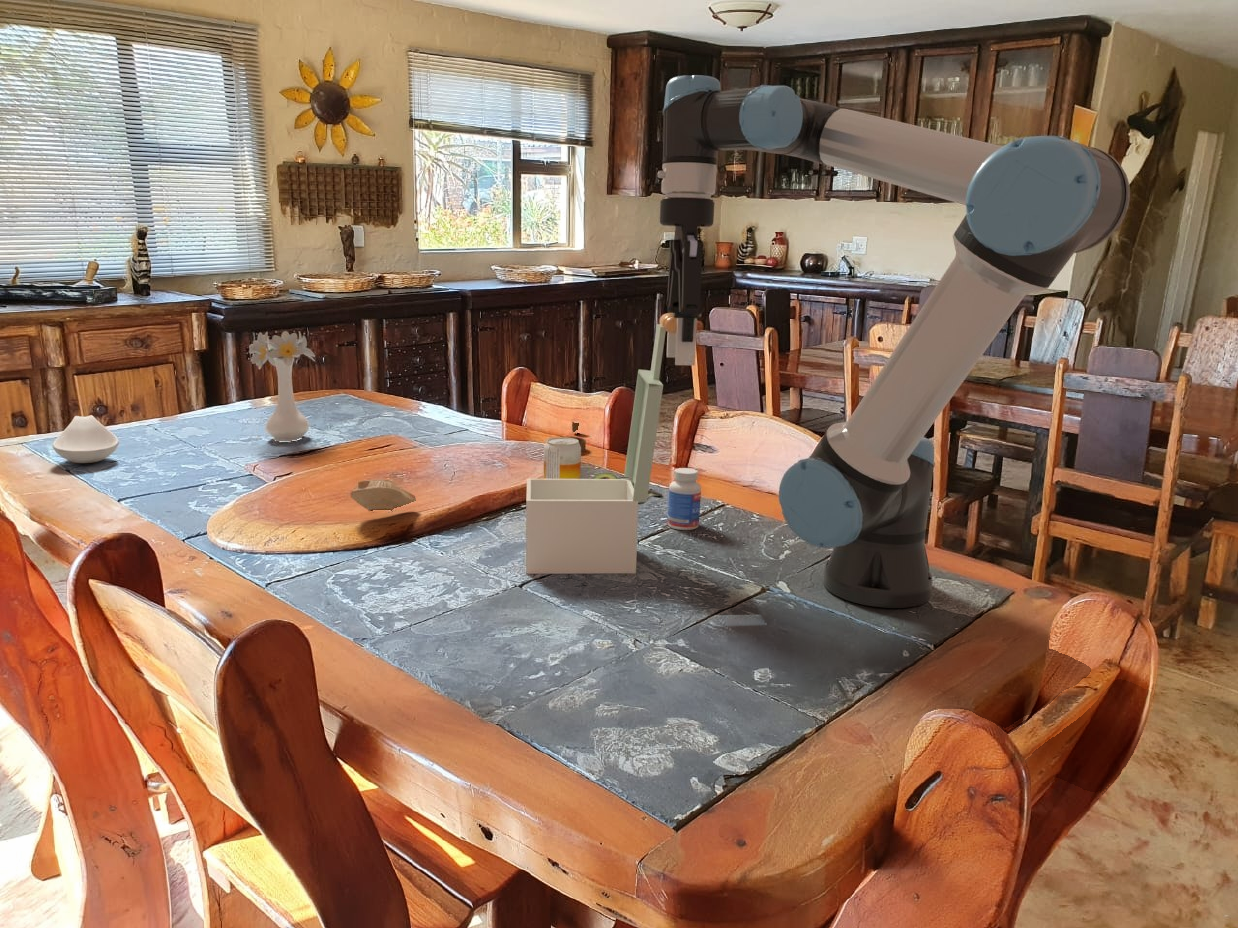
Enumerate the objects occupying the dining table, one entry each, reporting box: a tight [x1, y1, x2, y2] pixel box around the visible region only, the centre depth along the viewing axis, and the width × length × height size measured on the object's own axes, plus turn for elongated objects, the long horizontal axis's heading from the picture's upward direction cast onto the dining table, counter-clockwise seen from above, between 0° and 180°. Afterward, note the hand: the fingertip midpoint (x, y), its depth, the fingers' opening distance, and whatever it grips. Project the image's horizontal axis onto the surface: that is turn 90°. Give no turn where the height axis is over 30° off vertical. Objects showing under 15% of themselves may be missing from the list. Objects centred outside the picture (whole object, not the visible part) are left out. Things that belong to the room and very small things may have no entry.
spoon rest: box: [52, 414, 120, 464], centre depth 192 cm, size 24×12×7 cm, turn 31°
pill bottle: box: [667, 467, 702, 531], centre depth 156 cm, size 6×5×10 cm
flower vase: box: [248, 330, 316, 442], centre depth 206 cm, size 13×18×25 cm
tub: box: [525, 478, 639, 575], centre depth 138 cm, size 16×12×11 cm
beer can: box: [543, 436, 582, 479], centre depth 152 cm, size 6×6×15 cm
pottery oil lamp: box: [350, 478, 417, 512], centre depth 157 cm, size 9×12×7 cm
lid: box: [623, 312, 677, 503], centre depth 134 cm, size 26×13×4 cm
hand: (680, 360), depth 133 cm, fingers closed on lid, 7 cm apart
